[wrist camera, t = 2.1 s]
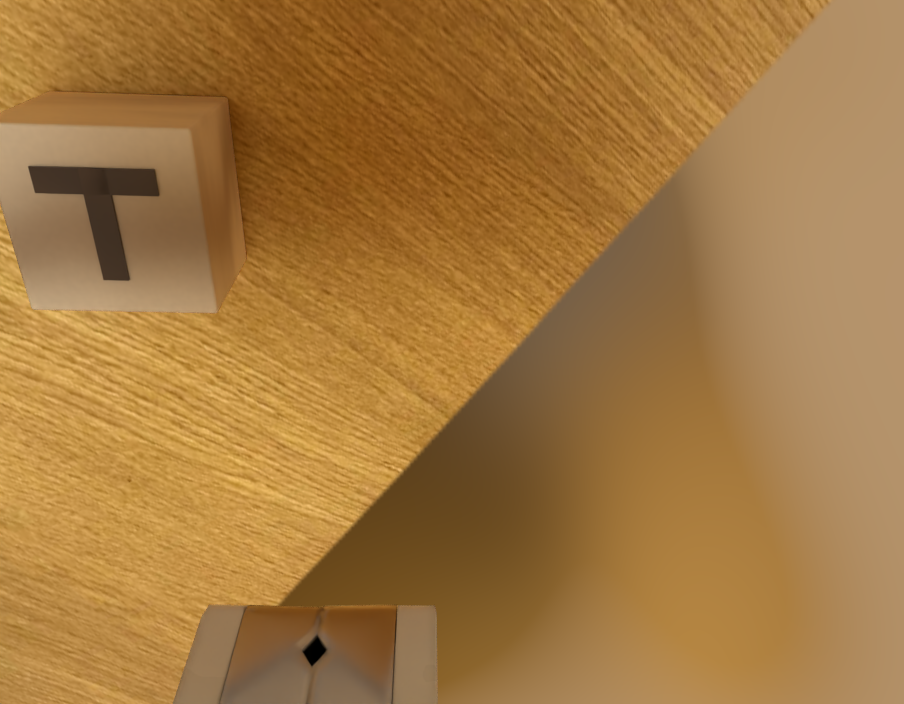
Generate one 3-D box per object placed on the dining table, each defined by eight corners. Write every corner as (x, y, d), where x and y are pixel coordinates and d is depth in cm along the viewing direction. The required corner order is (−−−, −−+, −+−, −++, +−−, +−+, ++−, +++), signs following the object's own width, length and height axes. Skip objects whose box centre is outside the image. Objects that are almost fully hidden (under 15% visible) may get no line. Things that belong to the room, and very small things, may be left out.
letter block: (47, 90, 24) (-29, 123, 20) (227, 96, 24) (189, 129, 20) (87, 255, 27) (29, 312, 23) (247, 259, 27) (217, 316, 23)
